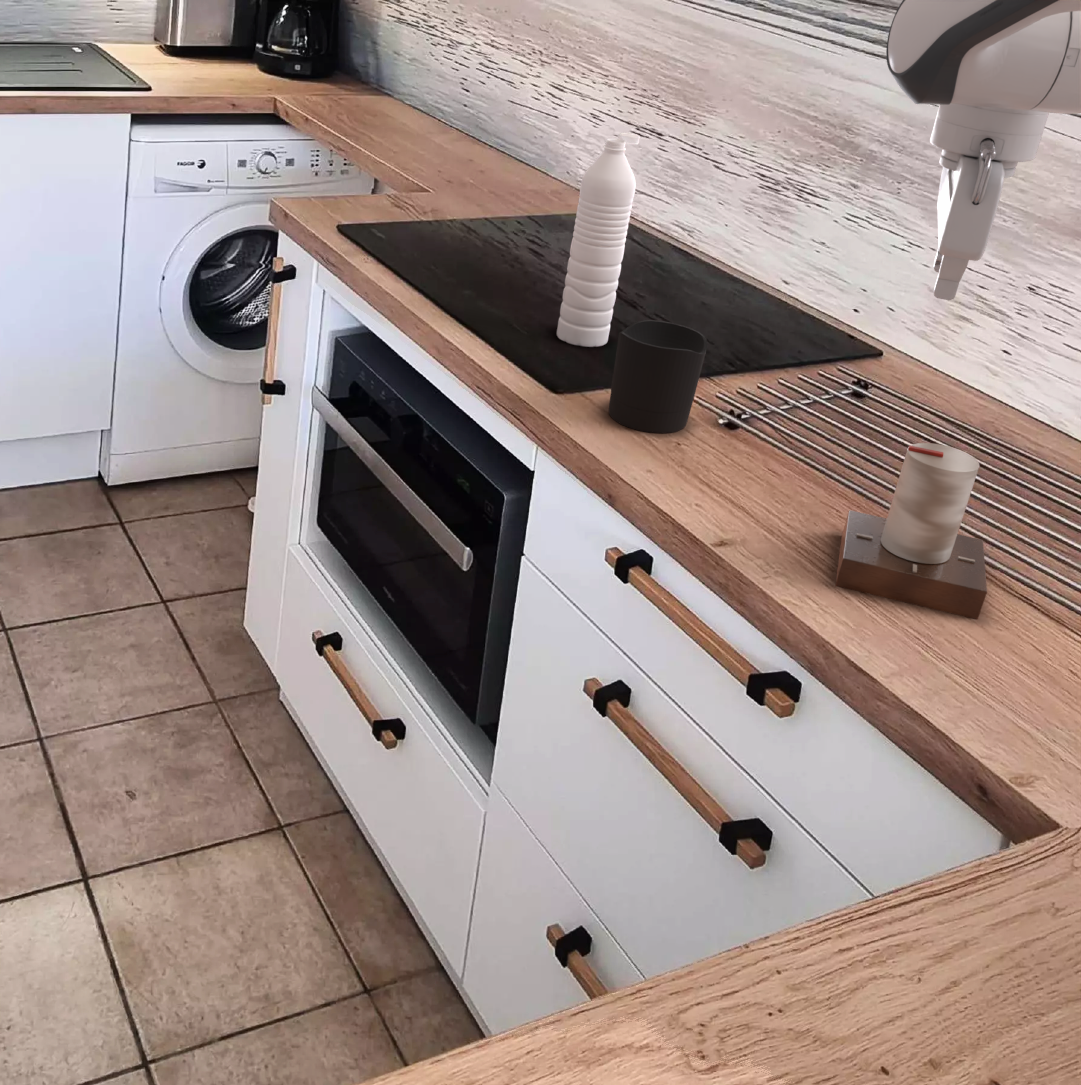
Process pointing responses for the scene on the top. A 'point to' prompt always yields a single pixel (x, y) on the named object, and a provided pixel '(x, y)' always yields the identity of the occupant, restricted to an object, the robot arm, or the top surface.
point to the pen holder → (656, 375)
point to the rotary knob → (929, 502)
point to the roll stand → (911, 570)
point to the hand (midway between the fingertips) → (942, 284)
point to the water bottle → (598, 246)
